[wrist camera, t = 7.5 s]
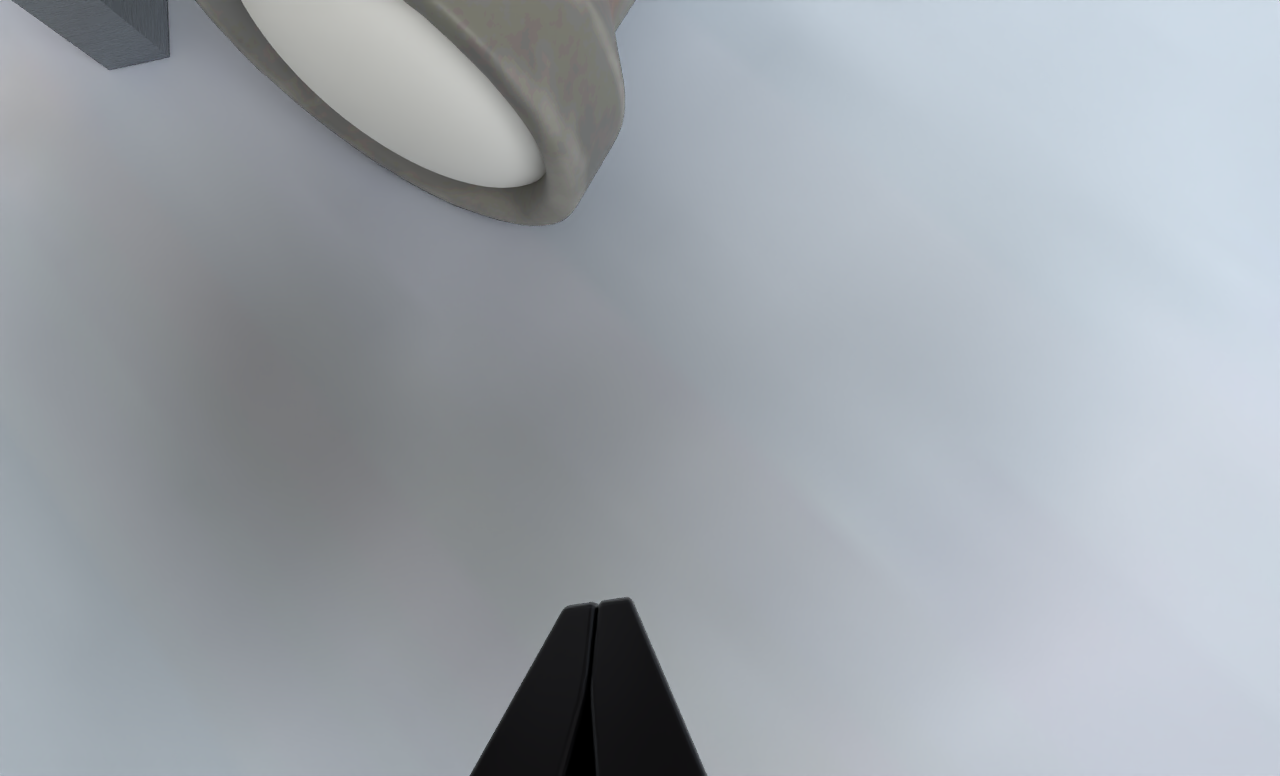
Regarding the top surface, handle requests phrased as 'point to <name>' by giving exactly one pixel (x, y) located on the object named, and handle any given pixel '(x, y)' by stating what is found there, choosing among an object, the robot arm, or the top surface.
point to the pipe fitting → (452, 89)
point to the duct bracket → (108, 27)
